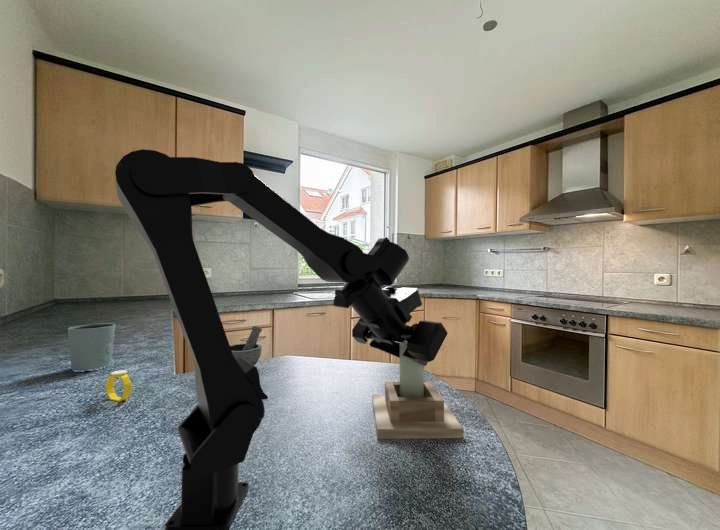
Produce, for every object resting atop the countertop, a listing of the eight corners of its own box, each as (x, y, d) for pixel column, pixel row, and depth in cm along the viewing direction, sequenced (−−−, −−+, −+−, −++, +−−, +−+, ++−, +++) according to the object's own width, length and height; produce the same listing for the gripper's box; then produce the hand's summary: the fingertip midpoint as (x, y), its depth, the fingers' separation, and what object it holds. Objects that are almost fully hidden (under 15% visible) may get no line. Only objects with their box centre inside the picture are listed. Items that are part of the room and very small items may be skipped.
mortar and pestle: (239, 381, 74) (240, 333, 74) (214, 375, 78) (215, 329, 79) (271, 368, 84) (272, 326, 84) (248, 364, 88) (249, 323, 89)
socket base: (463, 438, 48) (463, 406, 48) (377, 438, 48) (377, 407, 48) (438, 401, 62) (438, 377, 62) (372, 402, 62) (372, 377, 62)
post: (417, 405, 52) (416, 330, 52) (395, 398, 55) (395, 328, 55) (427, 397, 55) (427, 327, 56) (406, 391, 58) (406, 324, 59)
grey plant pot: (119, 366, 86) (121, 324, 86) (72, 376, 77) (74, 330, 78) (106, 361, 91) (107, 322, 92) (60, 369, 83) (62, 326, 83)
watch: (134, 400, 63) (136, 372, 63) (119, 405, 61) (122, 376, 61) (115, 394, 65) (117, 367, 65) (100, 399, 63) (103, 371, 63)
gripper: (440, 271, 46) (477, 334, 53) (363, 272, 61) (400, 322, 67) (406, 327, 41) (452, 390, 47) (331, 314, 55) (374, 363, 62)
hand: (416, 360), depth 56 cm, fingers closed on post, 4 cm apart
